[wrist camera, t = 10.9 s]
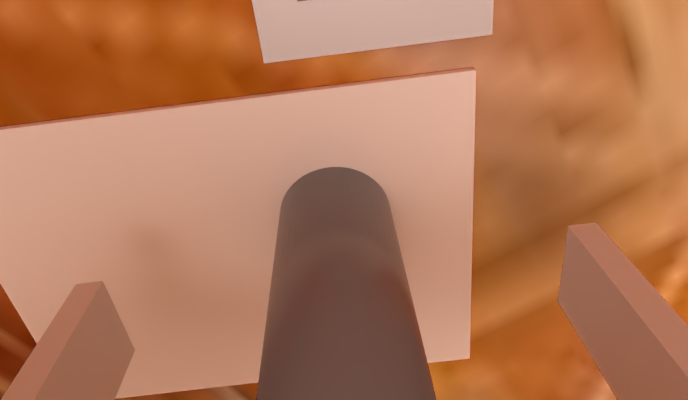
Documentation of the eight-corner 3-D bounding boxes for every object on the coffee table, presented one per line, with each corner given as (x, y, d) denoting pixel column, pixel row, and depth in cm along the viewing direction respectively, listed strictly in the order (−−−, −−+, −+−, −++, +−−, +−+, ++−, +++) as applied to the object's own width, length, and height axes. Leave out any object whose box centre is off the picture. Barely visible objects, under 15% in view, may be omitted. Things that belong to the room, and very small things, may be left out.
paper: (75, 397, 23) (73, 403, 22) (-80, 136, 16) (-87, 140, 16) (468, 353, 22) (469, 358, 22) (473, 67, 16) (476, 69, 15)
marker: (291, 270, 19) (244, 887, 7) (264, 175, 17) (132, 825, 5) (398, 252, 19) (541, 857, 7) (385, 154, 17) (556, 779, 5)
